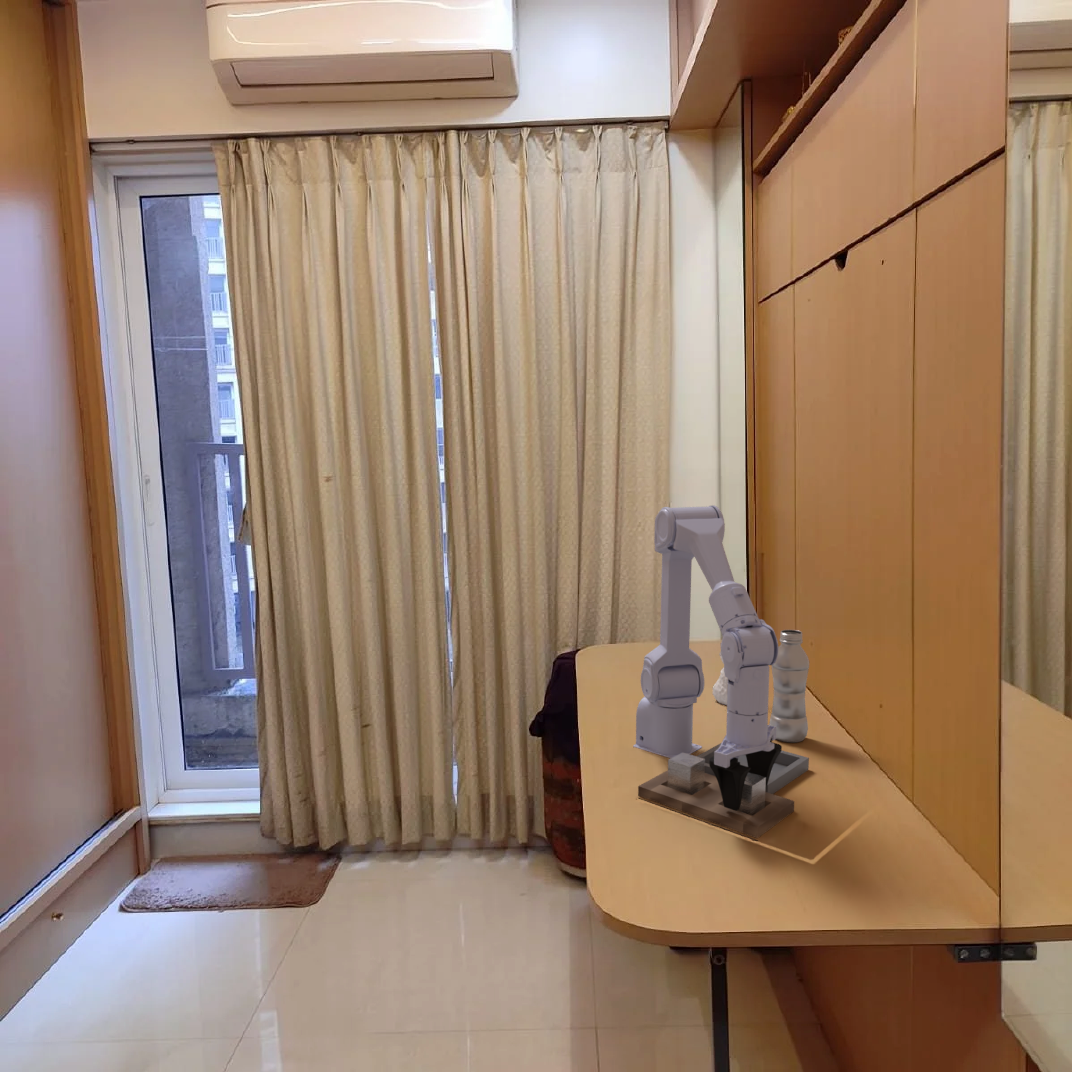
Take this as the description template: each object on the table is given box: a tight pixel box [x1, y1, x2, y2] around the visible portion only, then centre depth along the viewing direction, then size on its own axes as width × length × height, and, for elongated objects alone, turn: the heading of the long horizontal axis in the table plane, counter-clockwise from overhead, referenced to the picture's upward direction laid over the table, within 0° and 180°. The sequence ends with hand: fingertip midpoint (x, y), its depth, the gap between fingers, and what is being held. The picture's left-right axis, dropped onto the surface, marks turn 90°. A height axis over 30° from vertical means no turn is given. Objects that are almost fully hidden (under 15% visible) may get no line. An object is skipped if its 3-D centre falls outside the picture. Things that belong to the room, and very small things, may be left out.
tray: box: [696, 742, 810, 795], centre depth 138 cm, size 14×14×2 cm
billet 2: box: [737, 772, 766, 816], centre depth 123 cm, size 4×4×6 cm
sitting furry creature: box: [712, 651, 728, 706], centre depth 173 cm, size 10×9×12 cm
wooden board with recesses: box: [637, 769, 795, 842], centre depth 127 cm, size 20×11×2 cm, turn 47°
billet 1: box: [667, 752, 705, 795], centre depth 130 cm, size 4×4×6 cm
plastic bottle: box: [768, 629, 810, 743], centre depth 152 cm, size 6×7×20 cm
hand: (744, 799), depth 123 cm, fingers open, 7 cm apart
